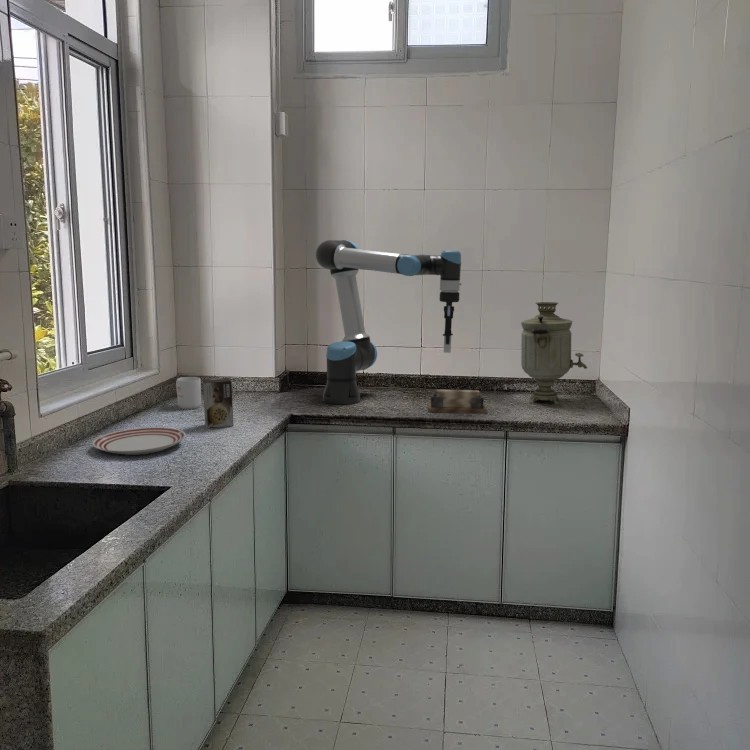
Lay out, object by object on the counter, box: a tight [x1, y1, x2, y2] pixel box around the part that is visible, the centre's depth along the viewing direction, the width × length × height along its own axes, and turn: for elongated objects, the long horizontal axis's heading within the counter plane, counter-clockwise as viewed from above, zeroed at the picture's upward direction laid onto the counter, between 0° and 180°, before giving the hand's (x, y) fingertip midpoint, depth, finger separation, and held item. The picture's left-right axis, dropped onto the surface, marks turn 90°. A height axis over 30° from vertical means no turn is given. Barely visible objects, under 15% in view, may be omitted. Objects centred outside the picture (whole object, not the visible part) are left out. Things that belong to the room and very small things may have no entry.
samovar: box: [520, 301, 588, 406], centre depth 286 cm, size 30×26×40 cm
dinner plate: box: [91, 426, 187, 456], centre depth 221 cm, size 27×27×3 cm
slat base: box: [427, 393, 488, 415], centre depth 274 cm, size 22×10×6 cm, turn 85°
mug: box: [175, 376, 202, 410], centre depth 277 cm, size 12×9×11 cm
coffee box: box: [202, 377, 234, 429], centre depth 247 cm, size 9×6×16 cm
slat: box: [436, 389, 480, 407], centre depth 273 cm, size 16×4×6 cm, turn 86°
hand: (447, 352), depth 278 cm, fingers closed
